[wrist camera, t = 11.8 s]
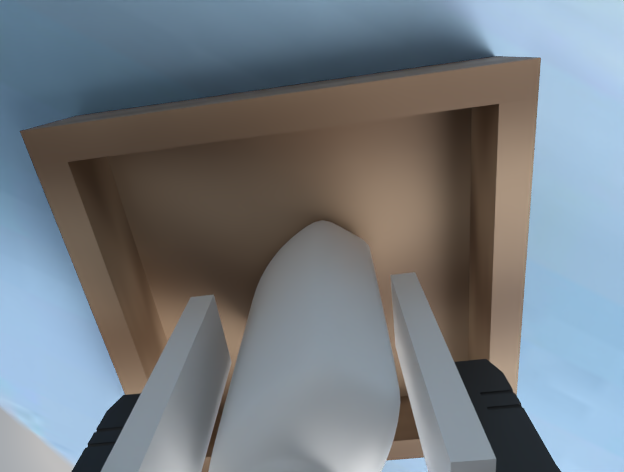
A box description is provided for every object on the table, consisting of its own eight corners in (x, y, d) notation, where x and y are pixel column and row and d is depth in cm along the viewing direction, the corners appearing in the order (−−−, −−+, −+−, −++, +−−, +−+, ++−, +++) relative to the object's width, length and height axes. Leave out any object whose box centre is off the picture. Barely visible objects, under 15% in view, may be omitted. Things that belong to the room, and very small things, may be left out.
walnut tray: (76, 116, 15) (19, 131, 12) (495, 56, 14) (540, 57, 11) (181, 420, 20) (159, 479, 17) (484, 392, 19) (512, 449, 16)
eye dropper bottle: (401, 295, 16) (563, 824, 5) (276, 353, 17) (200, 874, 7) (344, 201, 15) (410, 674, 4) (213, 272, 16) (-25, 778, 5)
